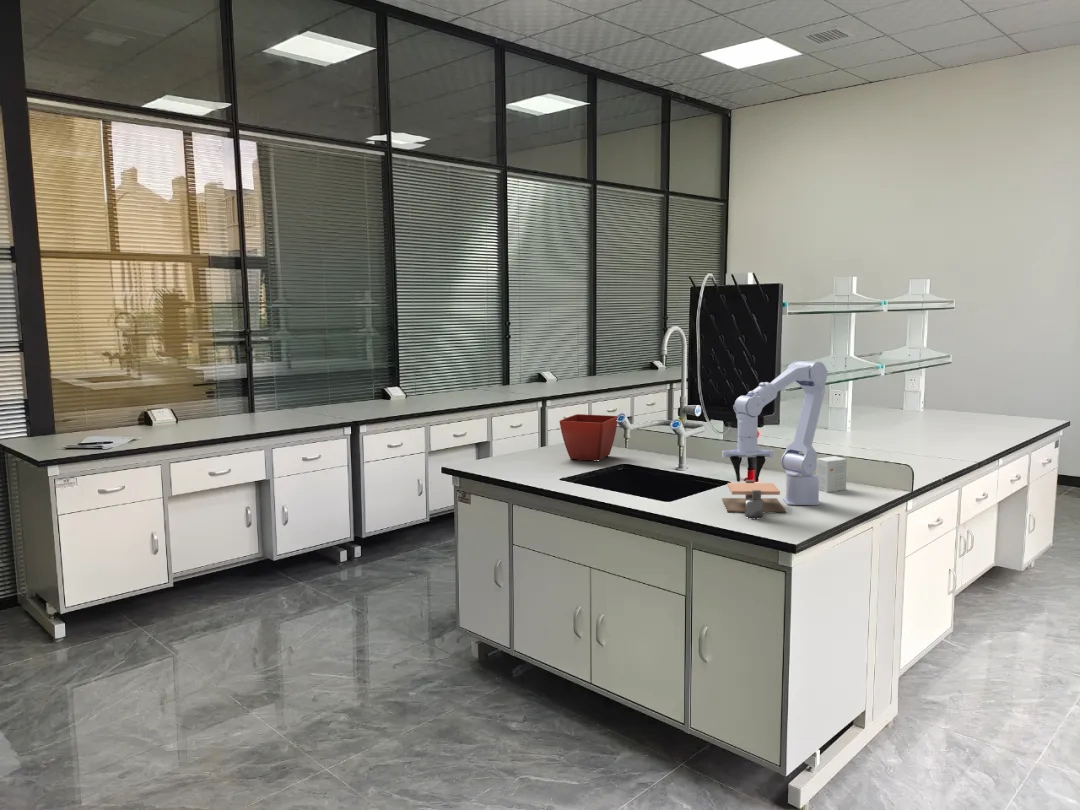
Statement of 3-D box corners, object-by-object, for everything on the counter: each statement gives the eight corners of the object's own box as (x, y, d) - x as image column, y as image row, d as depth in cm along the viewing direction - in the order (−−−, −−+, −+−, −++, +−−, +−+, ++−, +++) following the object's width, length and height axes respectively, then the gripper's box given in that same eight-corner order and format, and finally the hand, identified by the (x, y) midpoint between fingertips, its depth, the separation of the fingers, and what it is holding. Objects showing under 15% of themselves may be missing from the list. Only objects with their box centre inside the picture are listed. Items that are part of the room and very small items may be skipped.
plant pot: (603, 464, 305) (602, 422, 303) (559, 461, 313) (558, 420, 311) (619, 455, 322) (619, 415, 320) (577, 452, 330) (576, 414, 328)
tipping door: (773, 485, 240) (773, 482, 240) (780, 494, 229) (780, 491, 229) (727, 485, 242) (727, 482, 242) (732, 494, 231) (732, 491, 231)
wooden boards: (776, 500, 243) (777, 480, 242) (786, 512, 228) (786, 491, 227) (721, 499, 245) (722, 480, 244) (727, 512, 230) (727, 491, 229)
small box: (834, 486, 258) (835, 455, 257) (846, 490, 253) (847, 458, 252) (815, 489, 256) (815, 458, 254) (827, 492, 250) (827, 461, 249)
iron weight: (761, 514, 227) (761, 498, 226) (764, 519, 222) (764, 502, 221) (744, 514, 227) (744, 498, 227) (746, 519, 222) (746, 502, 222)
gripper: (724, 438, 224) (724, 484, 226) (775, 438, 223) (774, 483, 225) (721, 434, 231) (721, 478, 233) (770, 434, 230) (770, 478, 231)
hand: (747, 481), depth 229 cm, fingers open, 5 cm apart
